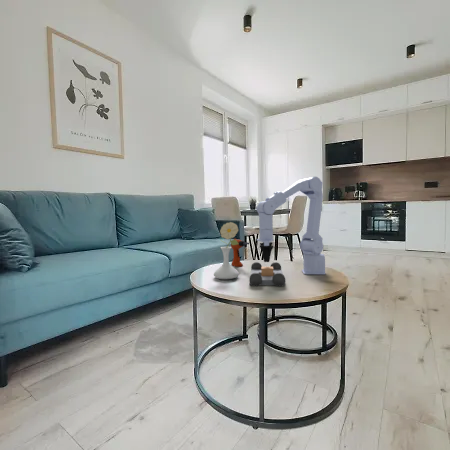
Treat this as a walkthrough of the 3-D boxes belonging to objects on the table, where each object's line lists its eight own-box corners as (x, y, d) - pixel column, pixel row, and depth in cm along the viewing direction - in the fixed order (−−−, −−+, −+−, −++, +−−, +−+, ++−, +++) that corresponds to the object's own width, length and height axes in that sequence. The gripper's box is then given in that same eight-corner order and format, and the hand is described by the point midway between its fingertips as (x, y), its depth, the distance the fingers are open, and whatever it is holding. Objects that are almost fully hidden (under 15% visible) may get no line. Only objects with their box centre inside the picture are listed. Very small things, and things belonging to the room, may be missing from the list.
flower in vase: (208, 278, 122) (206, 222, 121) (225, 273, 131) (224, 221, 129) (230, 283, 114) (229, 222, 112) (247, 278, 122) (246, 221, 121)
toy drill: (246, 268, 135) (243, 237, 136) (230, 266, 152) (228, 239, 153) (254, 267, 137) (252, 237, 138) (238, 265, 154) (235, 238, 155)
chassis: (281, 272, 131) (280, 262, 131) (285, 286, 107) (285, 273, 107) (251, 272, 133) (251, 262, 132) (249, 286, 109) (249, 273, 109)
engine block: (273, 277, 122) (272, 266, 122) (273, 280, 118) (273, 268, 117) (261, 277, 123) (261, 266, 122) (261, 280, 118) (261, 268, 118)
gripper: (256, 227, 126) (257, 257, 127) (256, 230, 112) (256, 263, 113) (272, 227, 126) (272, 257, 126) (274, 230, 111) (274, 263, 112)
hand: (266, 260), depth 120 cm, fingers open, 7 cm apart
